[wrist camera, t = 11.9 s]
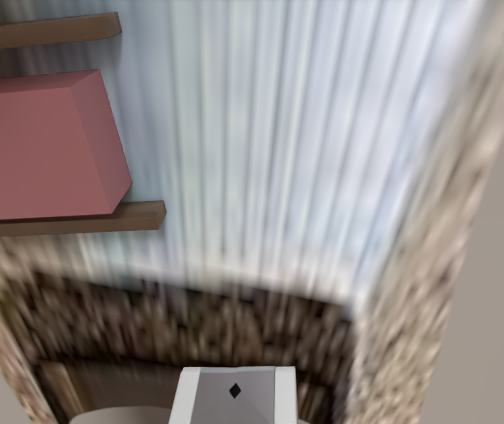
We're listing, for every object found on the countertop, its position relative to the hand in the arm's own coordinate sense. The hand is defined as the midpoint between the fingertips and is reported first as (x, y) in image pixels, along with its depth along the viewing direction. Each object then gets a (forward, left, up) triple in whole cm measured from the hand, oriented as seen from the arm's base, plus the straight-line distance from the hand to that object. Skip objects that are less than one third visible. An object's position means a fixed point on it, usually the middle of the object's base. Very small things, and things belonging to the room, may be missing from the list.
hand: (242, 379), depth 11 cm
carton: (0, -18, -22) cm, 28 cm away
